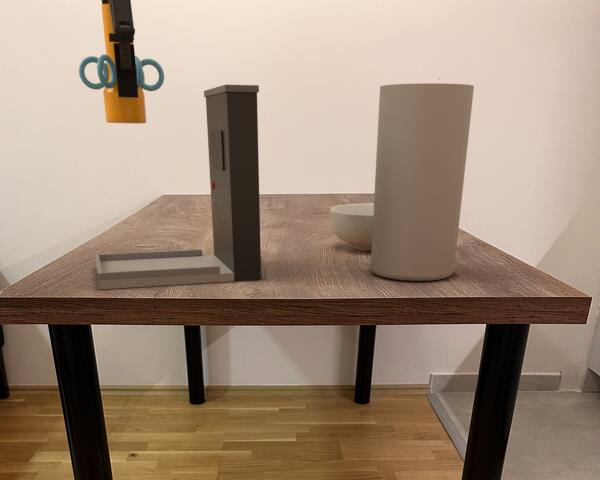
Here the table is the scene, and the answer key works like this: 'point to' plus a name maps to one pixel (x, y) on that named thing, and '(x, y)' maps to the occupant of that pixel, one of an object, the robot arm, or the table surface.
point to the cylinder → (114, 105)
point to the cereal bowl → (354, 224)
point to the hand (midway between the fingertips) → (124, 99)
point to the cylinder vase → (419, 179)
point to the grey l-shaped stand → (225, 207)
